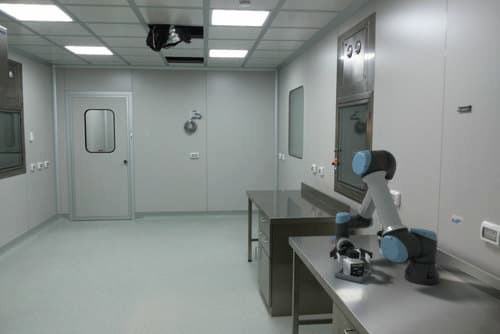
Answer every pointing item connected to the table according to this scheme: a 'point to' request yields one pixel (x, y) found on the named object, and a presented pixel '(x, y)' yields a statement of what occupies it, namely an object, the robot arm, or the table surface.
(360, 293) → the table surface
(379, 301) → the table surface
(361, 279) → the tray
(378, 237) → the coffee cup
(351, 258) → the medicine bottle
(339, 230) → the robot arm
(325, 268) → the table surface
